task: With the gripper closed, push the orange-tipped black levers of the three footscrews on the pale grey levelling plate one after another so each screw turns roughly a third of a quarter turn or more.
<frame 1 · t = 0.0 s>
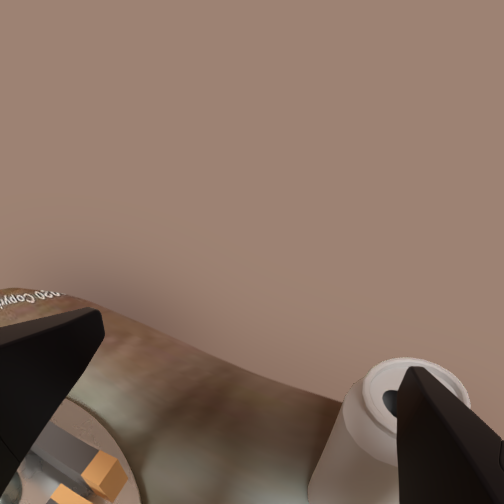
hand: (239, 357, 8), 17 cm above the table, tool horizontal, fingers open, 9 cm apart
can: (352, 496, 16), on the table
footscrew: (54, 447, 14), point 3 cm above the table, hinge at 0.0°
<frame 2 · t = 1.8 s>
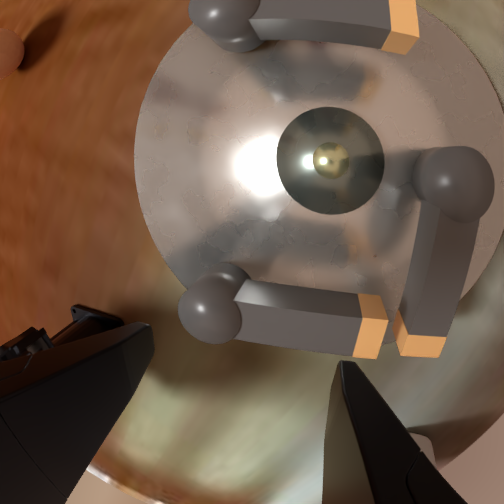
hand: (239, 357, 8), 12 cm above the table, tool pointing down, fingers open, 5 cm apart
can: (395, 447, 23), on the table
footscrew 1: (282, 312, 17), point 3 cm above the table, hinge at 0.0°
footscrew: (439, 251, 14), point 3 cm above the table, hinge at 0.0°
footscrew 2: (303, 14, 12), point 3 cm above the table, hinge at 0.0°
egg: (22, 58, 19), on the table
levelling plate: (330, 160, 17), on the table
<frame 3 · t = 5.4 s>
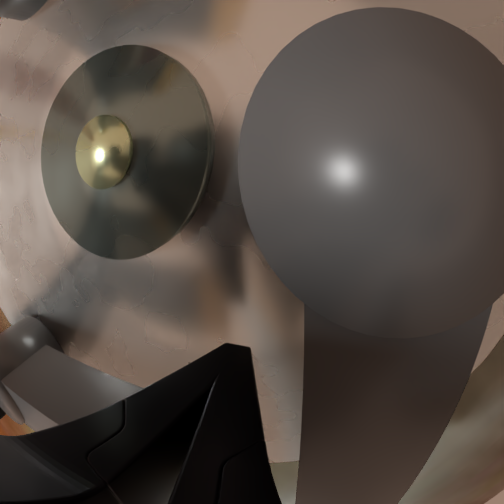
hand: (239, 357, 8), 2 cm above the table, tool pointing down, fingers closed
footscrew 1: (76, 405, 9), point 3 cm above the table, hinge at 0.0°
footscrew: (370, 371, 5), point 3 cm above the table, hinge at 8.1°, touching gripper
levelling plate: (135, 150, 8), on the table
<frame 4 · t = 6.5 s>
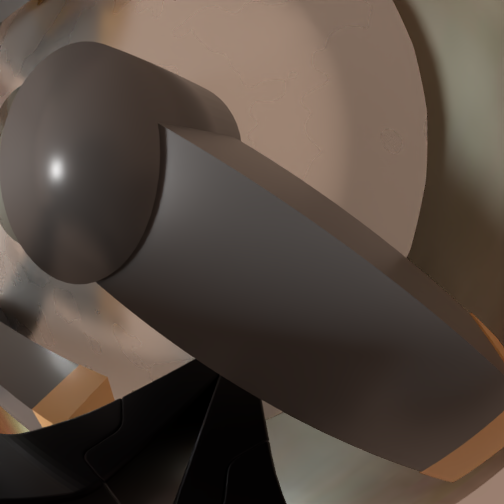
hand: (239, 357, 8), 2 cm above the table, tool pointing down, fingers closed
footscrew 1: (11, 367, 9), point 3 cm above the table, hinge at 0.0°
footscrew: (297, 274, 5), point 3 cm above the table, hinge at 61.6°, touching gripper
levelling plate: (46, 160, 9), on the table
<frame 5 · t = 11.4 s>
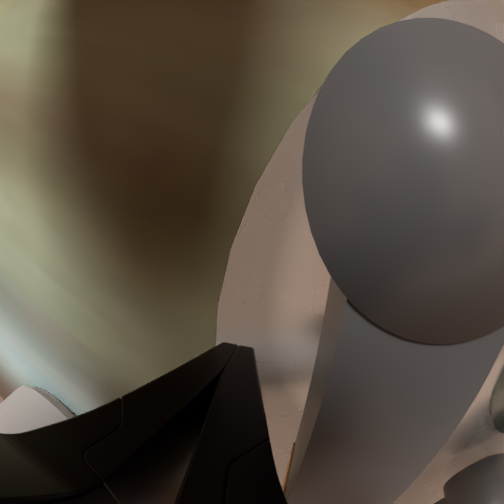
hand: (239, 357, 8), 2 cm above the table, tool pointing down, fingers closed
can: (63, 418, 16), on the table
footscrew 1: (376, 375, 5), point 3 cm above the table, hinge at 0.1°, touching gripper
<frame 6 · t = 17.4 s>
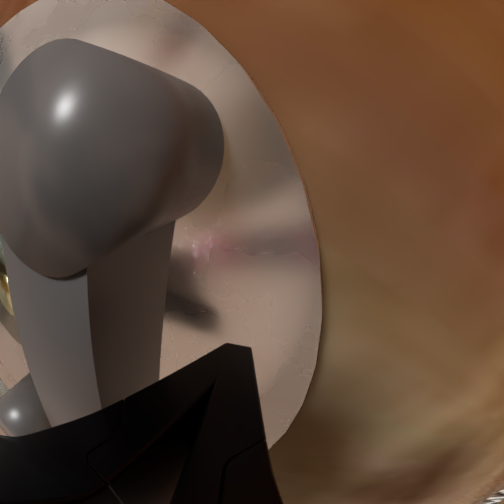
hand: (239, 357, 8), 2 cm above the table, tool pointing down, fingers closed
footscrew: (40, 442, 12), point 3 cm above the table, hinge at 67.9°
footscrew 2: (98, 318, 6), point 3 cm above the table, hinge at -10.0°, touching gripper
levelling plate: (31, 281, 11), on the table
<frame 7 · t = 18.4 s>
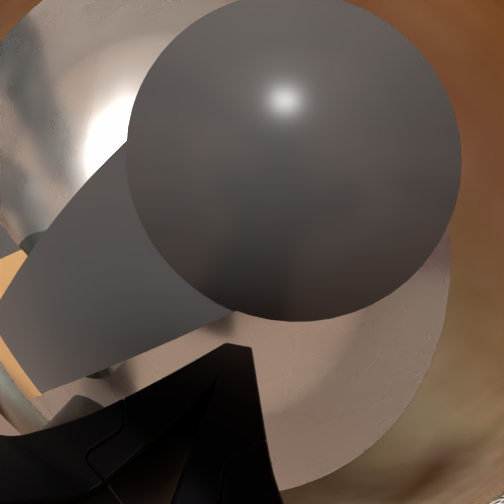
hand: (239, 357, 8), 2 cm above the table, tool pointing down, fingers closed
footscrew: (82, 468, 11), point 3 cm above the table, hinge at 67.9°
footscrew 2: (131, 265, 6), point 3 cm above the table, hinge at -53.4°, touching footscrew 1, gripper
levelling plate: (82, 295, 11), on the table
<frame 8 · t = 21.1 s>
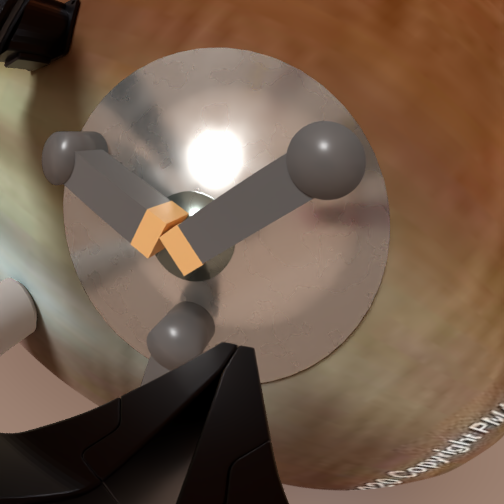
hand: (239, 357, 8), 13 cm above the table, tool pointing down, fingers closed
can: (24, 302, 29), on the table
footscrew 1: (107, 183, 18), point 3 cm above the table, hinge at 58.9°, touching footscrew 2
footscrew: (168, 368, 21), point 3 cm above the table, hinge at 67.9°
footscrew 2: (263, 197, 16), point 3 cm above the table, hinge at -53.4°, touching footscrew 1
levelling plate: (197, 232, 21), on the table
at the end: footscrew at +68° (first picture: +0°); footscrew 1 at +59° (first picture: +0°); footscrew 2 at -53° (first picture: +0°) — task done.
